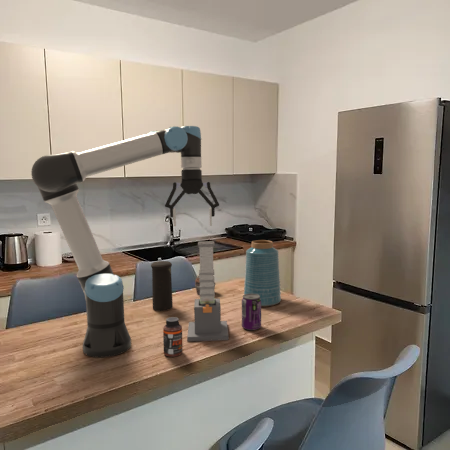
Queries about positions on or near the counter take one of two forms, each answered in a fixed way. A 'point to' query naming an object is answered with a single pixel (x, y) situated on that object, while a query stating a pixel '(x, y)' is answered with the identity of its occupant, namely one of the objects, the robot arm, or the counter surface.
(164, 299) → the container
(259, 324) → the beverage can
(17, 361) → the counter surface
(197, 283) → the cupcake
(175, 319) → the supplement bottle
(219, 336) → the stand
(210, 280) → the column
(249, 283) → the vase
